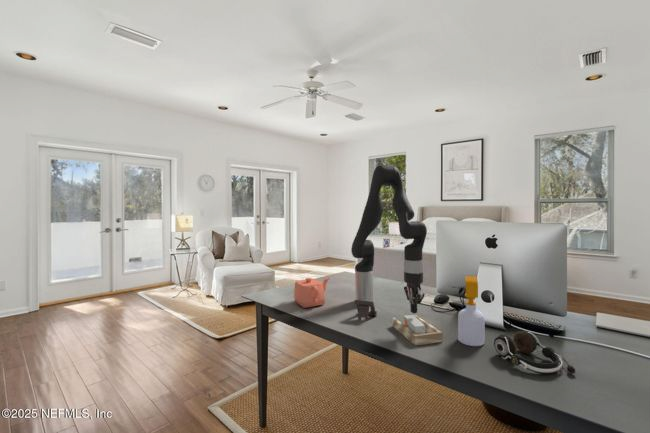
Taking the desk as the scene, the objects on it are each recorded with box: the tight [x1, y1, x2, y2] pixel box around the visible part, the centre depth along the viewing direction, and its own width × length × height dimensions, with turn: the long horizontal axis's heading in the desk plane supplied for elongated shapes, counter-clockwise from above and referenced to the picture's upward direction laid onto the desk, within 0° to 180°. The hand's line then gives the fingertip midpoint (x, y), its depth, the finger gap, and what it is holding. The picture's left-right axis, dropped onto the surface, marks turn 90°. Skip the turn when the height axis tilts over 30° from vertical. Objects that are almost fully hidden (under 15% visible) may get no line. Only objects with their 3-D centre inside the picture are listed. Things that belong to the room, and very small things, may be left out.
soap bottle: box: [457, 275, 486, 347], centre depth 120 cm, size 9×9×25 cm
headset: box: [493, 330, 576, 376], centre depth 104 cm, size 17×8×20 cm
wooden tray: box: [391, 314, 444, 346], centre depth 128 cm, size 19×11×4 cm, turn 14°
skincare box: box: [403, 314, 426, 334], centre depth 127 cm, size 6×4×12 cm
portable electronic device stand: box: [354, 299, 378, 322], centre depth 147 cm, size 9×8×8 cm
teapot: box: [293, 277, 331, 309], centre depth 170 cm, size 20×19×14 cm
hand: (413, 312), depth 130 cm, fingers closed
